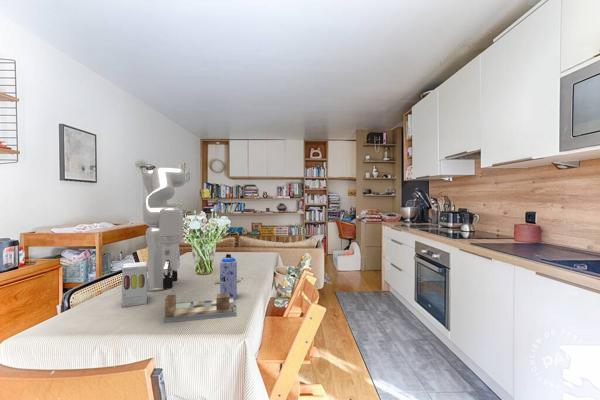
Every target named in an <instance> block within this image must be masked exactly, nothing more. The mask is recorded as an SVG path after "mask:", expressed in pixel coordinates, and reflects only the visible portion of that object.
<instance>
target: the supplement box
mask: <svg viewBox="0 0 600 400" xmlns="http://www.w3.org/2000/svg"><path fill="white" fill-rule="evenodd" d="M121 272H122V274H121V275H122V278H121V279H122V280H121V308H127V307H133V306H139V305H140V306H141V305H147V301H148V291H147V279H148V261H142V262H141V261H140V262H139V261H138V262H128V263H127V262H125V263H123V265H122V270H121Z"/></svg>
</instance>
